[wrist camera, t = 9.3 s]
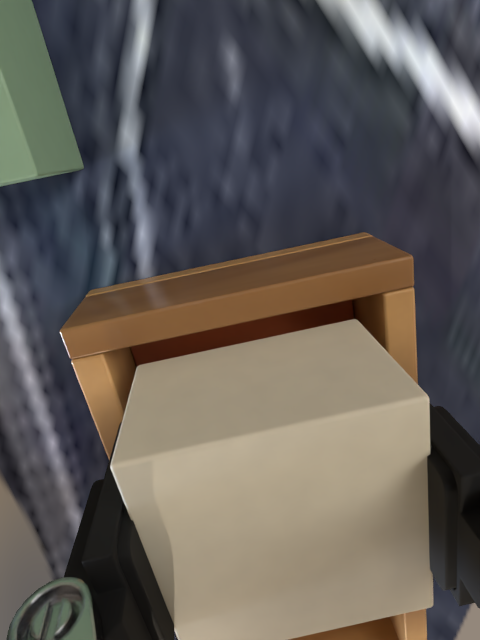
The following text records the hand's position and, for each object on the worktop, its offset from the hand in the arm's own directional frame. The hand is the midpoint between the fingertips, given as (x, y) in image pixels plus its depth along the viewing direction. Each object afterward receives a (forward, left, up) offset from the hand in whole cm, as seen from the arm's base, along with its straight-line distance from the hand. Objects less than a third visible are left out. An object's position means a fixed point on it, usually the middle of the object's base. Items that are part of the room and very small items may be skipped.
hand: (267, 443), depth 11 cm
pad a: (0, 0, -1) cm, 1 cm away
